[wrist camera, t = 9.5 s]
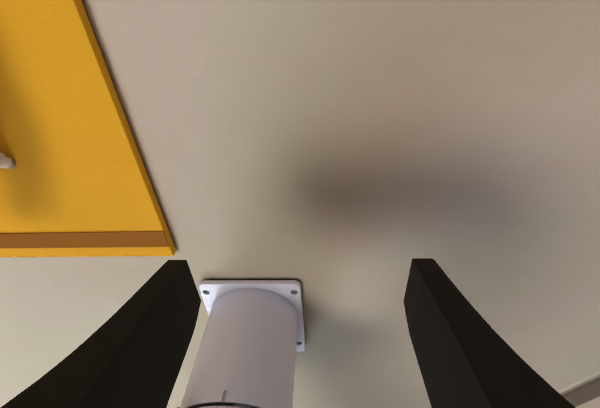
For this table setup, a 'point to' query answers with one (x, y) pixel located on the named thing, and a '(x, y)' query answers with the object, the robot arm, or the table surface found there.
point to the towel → (68, 144)
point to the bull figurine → (7, 161)
